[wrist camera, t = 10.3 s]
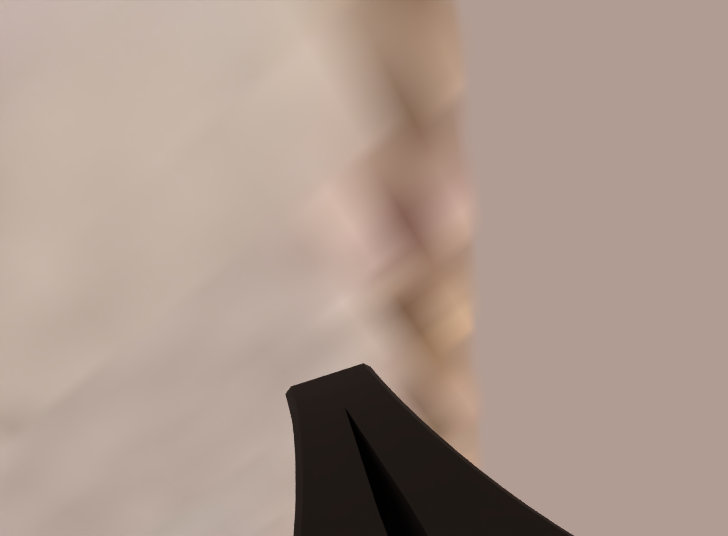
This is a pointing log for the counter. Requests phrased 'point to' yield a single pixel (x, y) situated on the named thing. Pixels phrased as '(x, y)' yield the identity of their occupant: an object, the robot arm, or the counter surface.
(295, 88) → the counter surface
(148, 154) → the counter surface
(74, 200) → the counter surface
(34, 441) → the counter surface
